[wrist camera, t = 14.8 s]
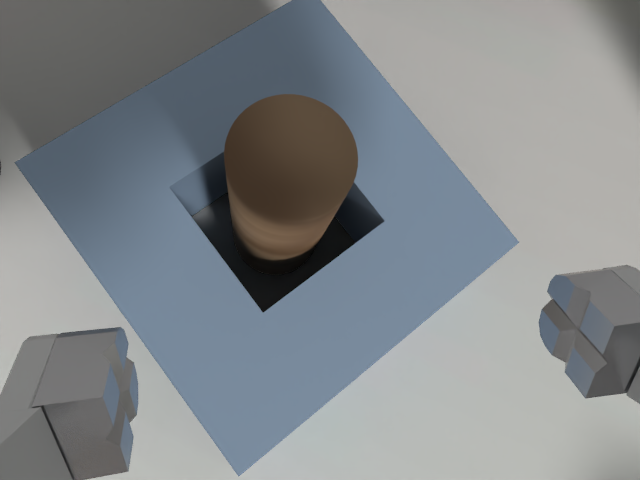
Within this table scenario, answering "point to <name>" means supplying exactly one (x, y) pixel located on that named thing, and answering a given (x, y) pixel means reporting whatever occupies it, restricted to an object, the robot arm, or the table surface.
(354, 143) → the long pin
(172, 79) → the collar block
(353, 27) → the table surface
